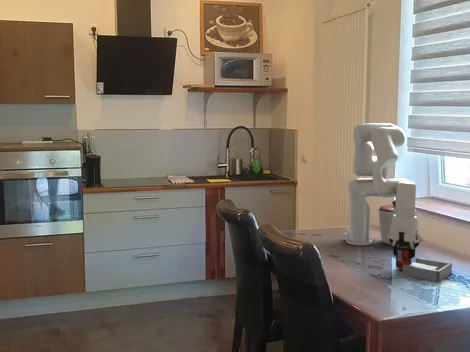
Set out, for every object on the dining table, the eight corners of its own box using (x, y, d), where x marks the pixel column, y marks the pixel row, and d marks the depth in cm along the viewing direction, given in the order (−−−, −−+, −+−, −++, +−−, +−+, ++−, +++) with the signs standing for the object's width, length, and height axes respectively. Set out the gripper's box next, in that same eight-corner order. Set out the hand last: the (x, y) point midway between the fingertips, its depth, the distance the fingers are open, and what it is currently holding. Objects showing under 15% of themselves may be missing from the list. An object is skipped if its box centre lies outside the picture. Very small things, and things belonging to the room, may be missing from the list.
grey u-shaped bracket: (402, 275, 211) (403, 265, 210) (416, 266, 222) (416, 257, 221) (438, 282, 202) (439, 271, 202) (451, 273, 213) (451, 263, 212)
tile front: (420, 275, 211) (420, 267, 211) (425, 272, 215) (425, 264, 215) (433, 277, 208) (433, 270, 208) (437, 274, 212) (438, 267, 212)
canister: (418, 248, 251) (419, 203, 249) (378, 247, 254) (379, 203, 252) (411, 239, 269) (412, 197, 267) (374, 238, 272) (375, 196, 269)
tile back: (408, 272, 215) (408, 265, 214) (413, 269, 218) (413, 262, 218) (421, 274, 211) (421, 267, 211) (425, 271, 215) (425, 264, 215)
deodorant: (412, 266, 219) (413, 230, 217) (409, 270, 214) (410, 233, 212) (397, 264, 222) (398, 228, 220) (394, 268, 217) (395, 231, 215)
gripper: (380, 211, 218) (379, 254, 220) (422, 216, 207) (421, 262, 209) (388, 208, 224) (387, 251, 226) (430, 213, 212) (428, 258, 215)
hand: (403, 256), depth 217 cm, fingers closed on deodorant, 5 cm apart
